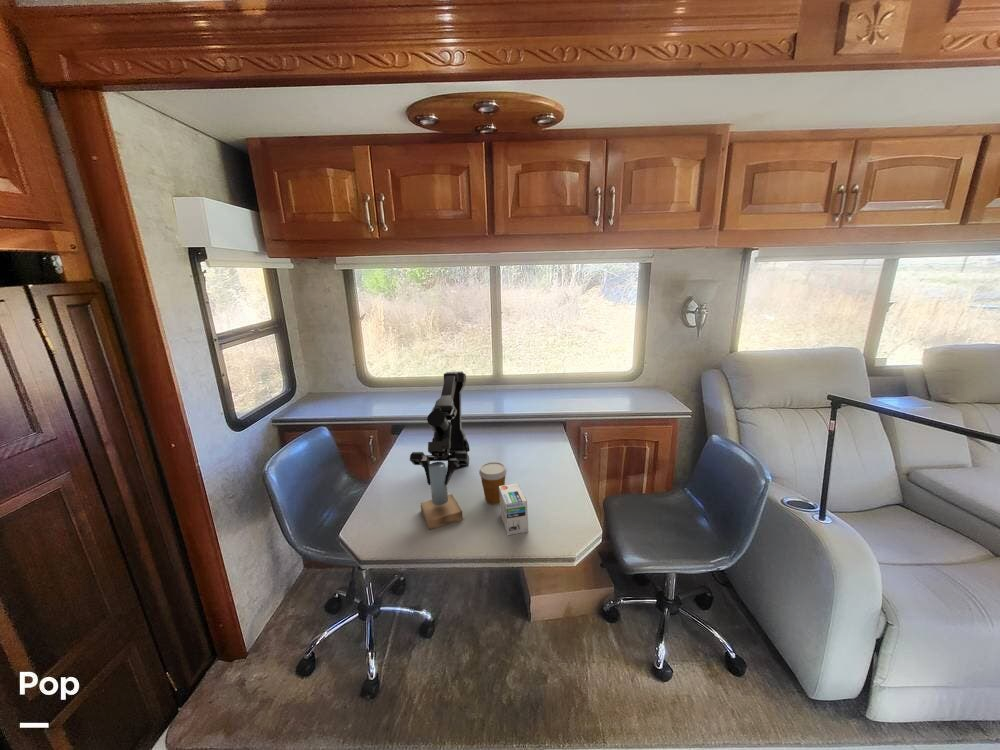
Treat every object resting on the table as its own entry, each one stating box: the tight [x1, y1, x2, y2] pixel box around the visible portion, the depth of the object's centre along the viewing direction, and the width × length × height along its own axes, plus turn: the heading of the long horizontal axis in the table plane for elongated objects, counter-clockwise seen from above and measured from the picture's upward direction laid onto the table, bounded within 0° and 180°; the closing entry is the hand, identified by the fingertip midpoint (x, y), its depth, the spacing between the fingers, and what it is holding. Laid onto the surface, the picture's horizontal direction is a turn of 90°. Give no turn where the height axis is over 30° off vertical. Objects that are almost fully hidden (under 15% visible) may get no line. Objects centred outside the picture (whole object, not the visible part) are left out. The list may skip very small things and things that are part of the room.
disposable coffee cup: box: [478, 461, 508, 505], centre depth 128 cm, size 10×10×12 cm
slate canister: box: [429, 461, 449, 505], centre depth 120 cm, size 5×5×12 cm
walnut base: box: [420, 493, 464, 530], centre depth 122 cm, size 11×11×3 cm
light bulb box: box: [499, 482, 529, 536], centre depth 115 cm, size 11×7×11 cm, turn 12°
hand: (437, 484), depth 118 cm, fingers closed on slate canister, 5 cm apart
